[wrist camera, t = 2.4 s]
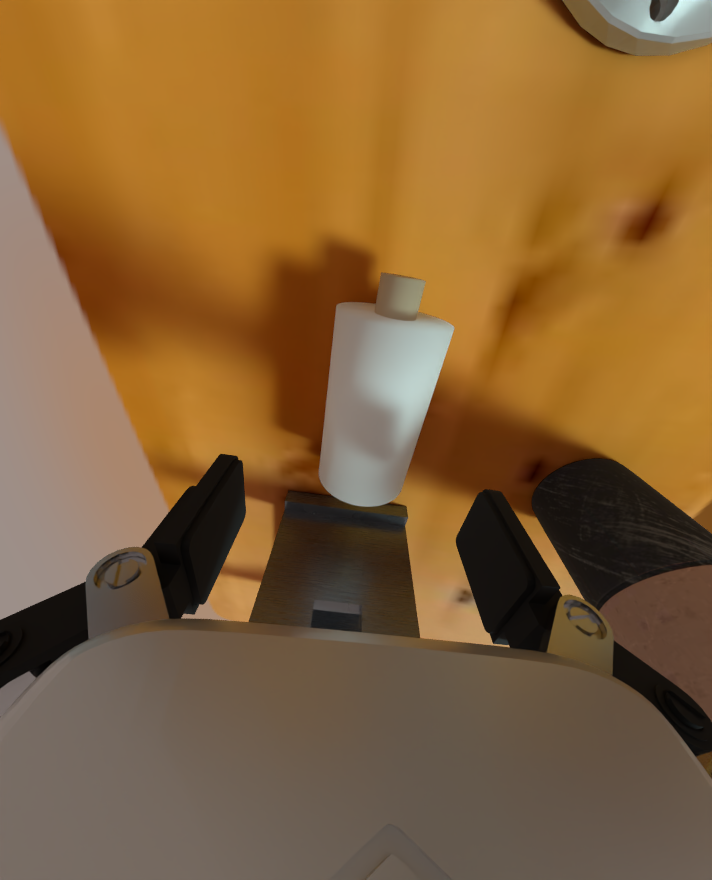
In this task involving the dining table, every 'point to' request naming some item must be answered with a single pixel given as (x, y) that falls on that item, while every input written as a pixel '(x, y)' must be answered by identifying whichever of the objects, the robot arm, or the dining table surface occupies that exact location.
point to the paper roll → (379, 391)
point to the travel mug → (636, 566)
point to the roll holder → (339, 569)
